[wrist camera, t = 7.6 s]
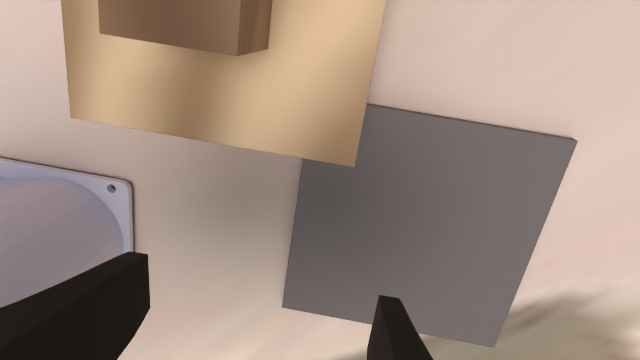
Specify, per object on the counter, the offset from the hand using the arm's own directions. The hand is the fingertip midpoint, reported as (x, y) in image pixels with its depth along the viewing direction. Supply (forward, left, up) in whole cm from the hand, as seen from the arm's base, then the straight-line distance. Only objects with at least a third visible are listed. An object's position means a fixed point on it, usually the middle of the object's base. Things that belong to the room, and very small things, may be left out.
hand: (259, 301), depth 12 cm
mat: (+6, -2, -10) cm, 12 cm away
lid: (-4, +9, -6) cm, 12 cm away
